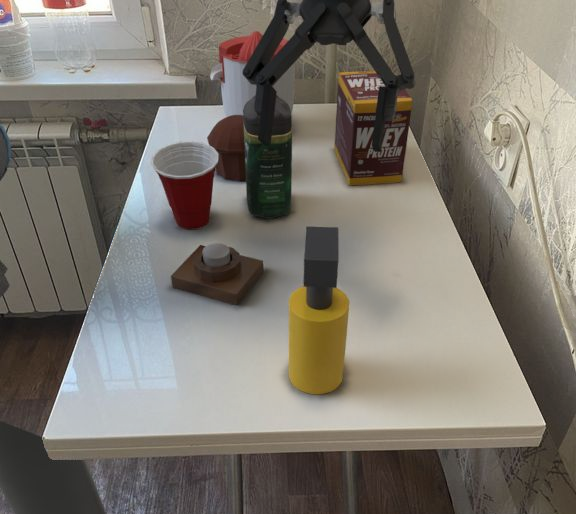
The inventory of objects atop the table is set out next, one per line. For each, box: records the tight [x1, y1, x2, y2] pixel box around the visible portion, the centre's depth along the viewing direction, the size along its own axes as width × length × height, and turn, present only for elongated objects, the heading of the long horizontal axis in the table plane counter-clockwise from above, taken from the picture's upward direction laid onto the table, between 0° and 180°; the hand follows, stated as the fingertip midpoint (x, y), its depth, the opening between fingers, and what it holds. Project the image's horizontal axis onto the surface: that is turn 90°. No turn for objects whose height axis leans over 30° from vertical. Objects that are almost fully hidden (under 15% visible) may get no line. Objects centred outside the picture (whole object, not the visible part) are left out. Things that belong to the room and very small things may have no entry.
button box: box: [170, 244, 265, 307], centre depth 93 cm, size 11×9×4 cm
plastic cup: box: [150, 140, 218, 230], centre depth 102 cm, size 11×11×12 cm
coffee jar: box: [243, 95, 293, 219], centre depth 104 cm, size 10×8×19 cm
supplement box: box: [333, 70, 414, 186], centre depth 116 cm, size 10×15×16 cm
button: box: [203, 242, 230, 267], centre depth 91 cm, size 4×4×2 cm
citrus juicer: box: [209, 30, 296, 117], centre depth 126 cm, size 16×17×20 cm
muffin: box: [206, 115, 246, 182], centre depth 117 cm, size 12×11×10 cm
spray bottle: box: [288, 225, 350, 395], centre depth 73 cm, size 8×7×20 cm
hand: (318, 146), depth 73 cm, fingers open, 13 cm apart
